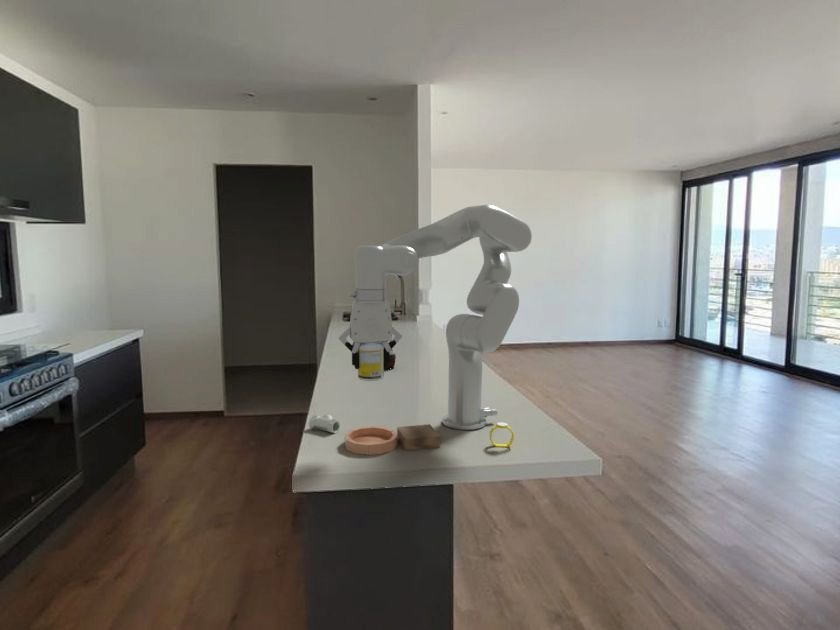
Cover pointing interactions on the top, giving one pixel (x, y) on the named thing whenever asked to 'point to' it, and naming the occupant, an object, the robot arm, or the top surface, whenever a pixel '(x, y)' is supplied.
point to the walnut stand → (418, 437)
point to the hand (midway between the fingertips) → (370, 366)
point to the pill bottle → (371, 361)
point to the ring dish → (370, 440)
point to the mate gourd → (391, 360)
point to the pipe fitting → (324, 423)
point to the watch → (501, 425)
